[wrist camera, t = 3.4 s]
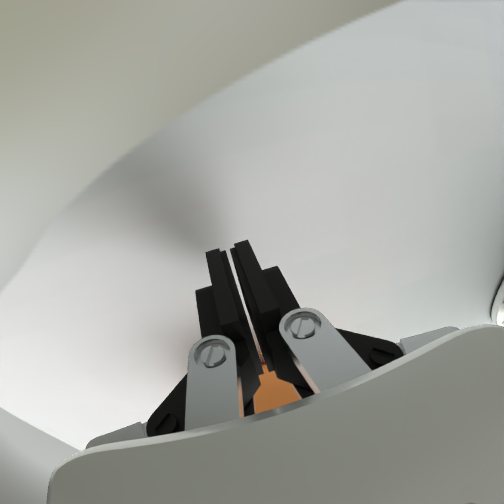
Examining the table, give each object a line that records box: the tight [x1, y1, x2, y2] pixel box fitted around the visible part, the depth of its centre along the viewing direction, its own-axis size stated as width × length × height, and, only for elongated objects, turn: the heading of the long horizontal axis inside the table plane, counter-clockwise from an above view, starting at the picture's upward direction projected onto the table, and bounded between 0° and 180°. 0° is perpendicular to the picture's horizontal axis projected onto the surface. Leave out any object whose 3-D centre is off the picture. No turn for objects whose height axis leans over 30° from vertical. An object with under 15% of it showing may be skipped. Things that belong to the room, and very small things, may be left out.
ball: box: [254, 364, 299, 413], centre depth 16 cm, size 6×6×6 cm
